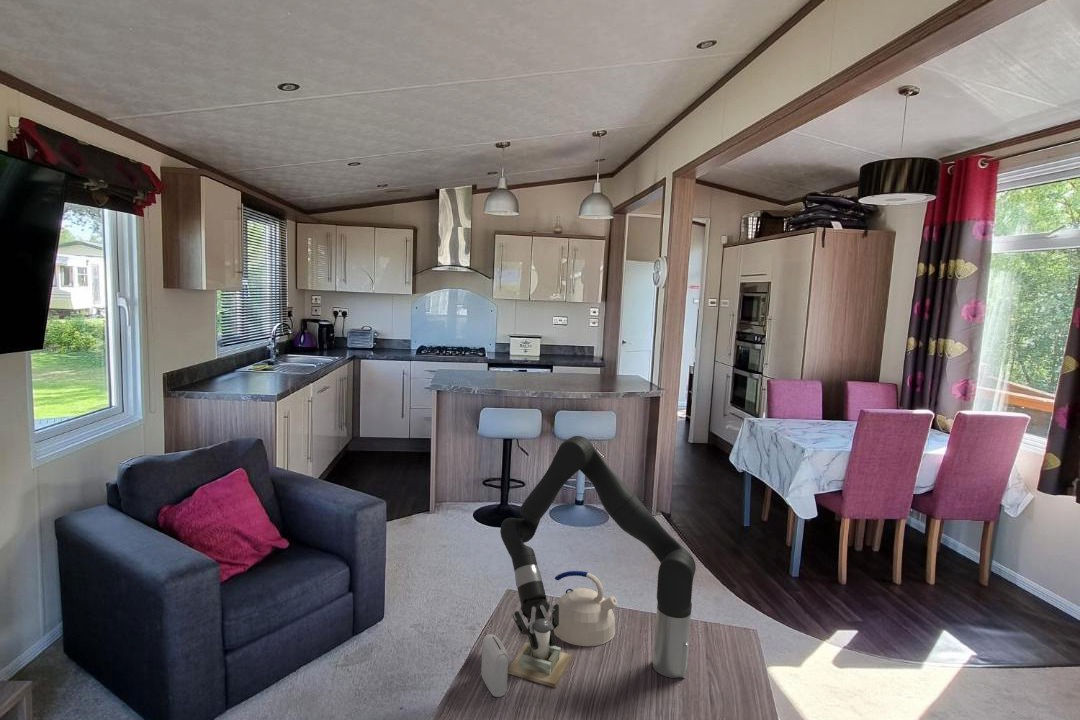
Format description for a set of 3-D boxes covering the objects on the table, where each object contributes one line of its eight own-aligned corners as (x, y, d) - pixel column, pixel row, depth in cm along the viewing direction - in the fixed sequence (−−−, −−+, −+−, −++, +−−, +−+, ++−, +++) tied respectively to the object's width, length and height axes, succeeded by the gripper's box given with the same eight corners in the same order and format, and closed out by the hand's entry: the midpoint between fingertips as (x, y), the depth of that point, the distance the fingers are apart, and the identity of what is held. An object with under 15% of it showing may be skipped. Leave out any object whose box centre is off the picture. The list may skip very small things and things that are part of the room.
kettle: (603, 655, 168) (607, 595, 166) (538, 634, 177) (541, 577, 175) (624, 622, 186) (628, 567, 184) (565, 604, 195) (568, 552, 193)
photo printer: (478, 675, 156) (480, 631, 155) (493, 671, 158) (496, 628, 156) (492, 699, 147) (495, 653, 145) (508, 695, 149) (511, 649, 147)
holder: (572, 658, 165) (573, 645, 165) (555, 687, 152) (556, 673, 152) (526, 645, 170) (527, 632, 170) (506, 672, 157) (507, 658, 157)
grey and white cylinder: (550, 655, 162) (552, 621, 161) (545, 663, 158) (547, 629, 157) (536, 650, 164) (538, 617, 163) (530, 659, 160) (532, 624, 159)
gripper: (510, 583, 163) (524, 648, 153) (556, 576, 169) (572, 638, 159) (502, 592, 169) (515, 656, 159) (547, 585, 174) (563, 646, 165)
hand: (544, 647), depth 159 cm, fingers closed on grey and white cylinder, 4 cm apart
